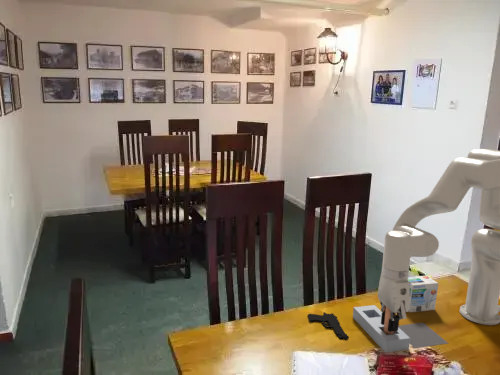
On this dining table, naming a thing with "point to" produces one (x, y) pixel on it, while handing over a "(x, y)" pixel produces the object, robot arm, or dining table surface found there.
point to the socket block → (380, 329)
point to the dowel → (387, 321)
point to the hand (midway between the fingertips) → (389, 326)
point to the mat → (421, 335)
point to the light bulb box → (422, 293)
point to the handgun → (329, 323)
